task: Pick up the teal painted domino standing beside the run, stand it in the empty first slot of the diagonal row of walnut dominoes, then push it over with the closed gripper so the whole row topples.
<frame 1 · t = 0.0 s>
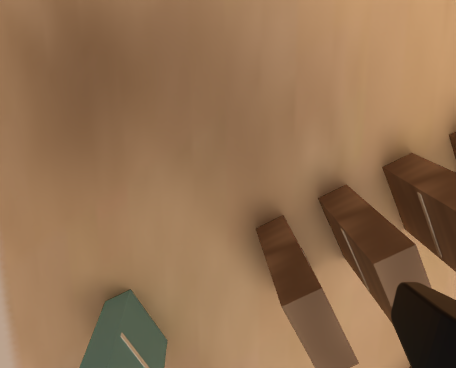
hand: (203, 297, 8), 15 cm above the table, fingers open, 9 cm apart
domino 3: (345, 222, 24), on the table
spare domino: (137, 321, 26), on the table
domino 4: (408, 192, 24), on the table
domino 2: (284, 251, 25), on the table
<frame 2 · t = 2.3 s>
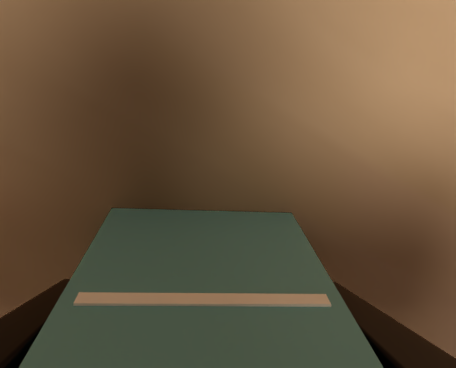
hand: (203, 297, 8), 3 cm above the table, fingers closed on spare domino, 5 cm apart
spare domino: (202, 242, 10), on the table, touching gripper
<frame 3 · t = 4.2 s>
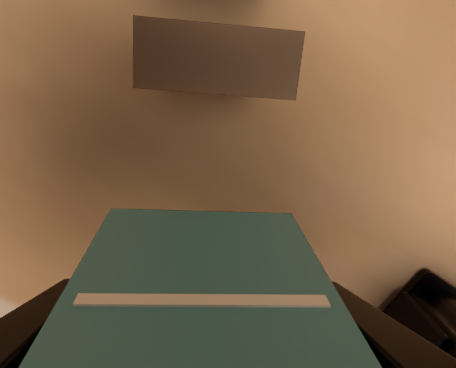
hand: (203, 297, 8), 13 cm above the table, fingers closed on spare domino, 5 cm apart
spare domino: (201, 243, 10), point 10 cm above the table, touching gripper
domino 2: (211, 59, 18), on the table
when the fingers open (4 cm above the table, at t = 6.3 s): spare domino stays where it is, on the table.
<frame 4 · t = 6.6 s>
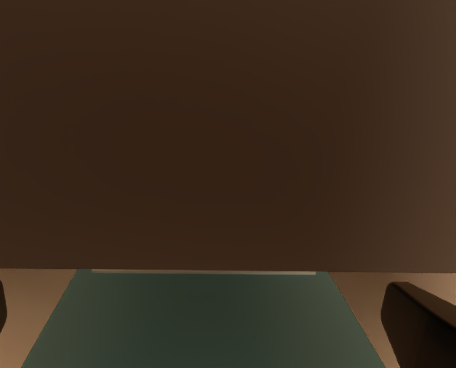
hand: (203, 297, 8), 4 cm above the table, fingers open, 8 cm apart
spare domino: (203, 227, 11), on the table
domino 2: (207, 76, 10), on the table
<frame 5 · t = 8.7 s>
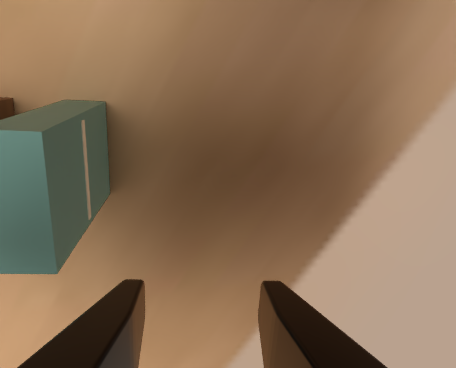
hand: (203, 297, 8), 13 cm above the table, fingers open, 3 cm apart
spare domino: (88, 148, 19), on the table
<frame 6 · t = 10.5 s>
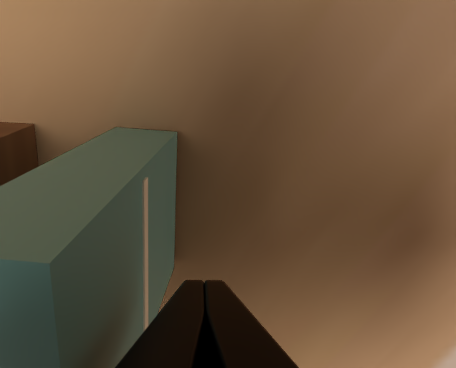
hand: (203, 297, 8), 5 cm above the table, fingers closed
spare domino: (146, 201, 13), on the table, tilted 7°, touching gripper
domino 2: (10, 196, 12), on the table
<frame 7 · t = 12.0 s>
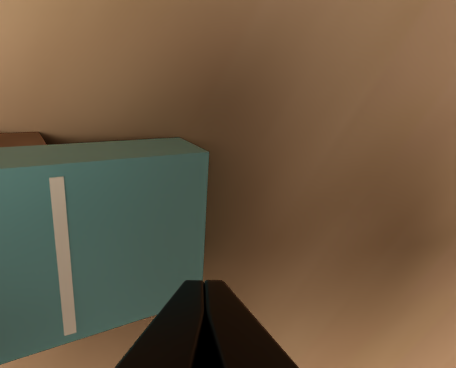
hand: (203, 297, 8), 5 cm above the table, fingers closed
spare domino: (190, 218, 12), point 1 cm above the table, tilted 62°, touching domino 2
domino 2: (50, 216, 12), point 1 cm above the table, tilted 62°, touching domino 3, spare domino
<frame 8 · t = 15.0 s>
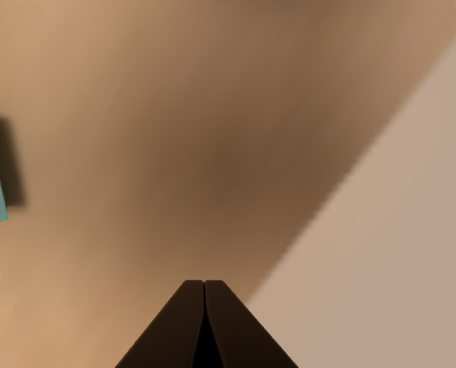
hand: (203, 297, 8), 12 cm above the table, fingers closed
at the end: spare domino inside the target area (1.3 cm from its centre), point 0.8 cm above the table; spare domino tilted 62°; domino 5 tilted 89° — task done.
